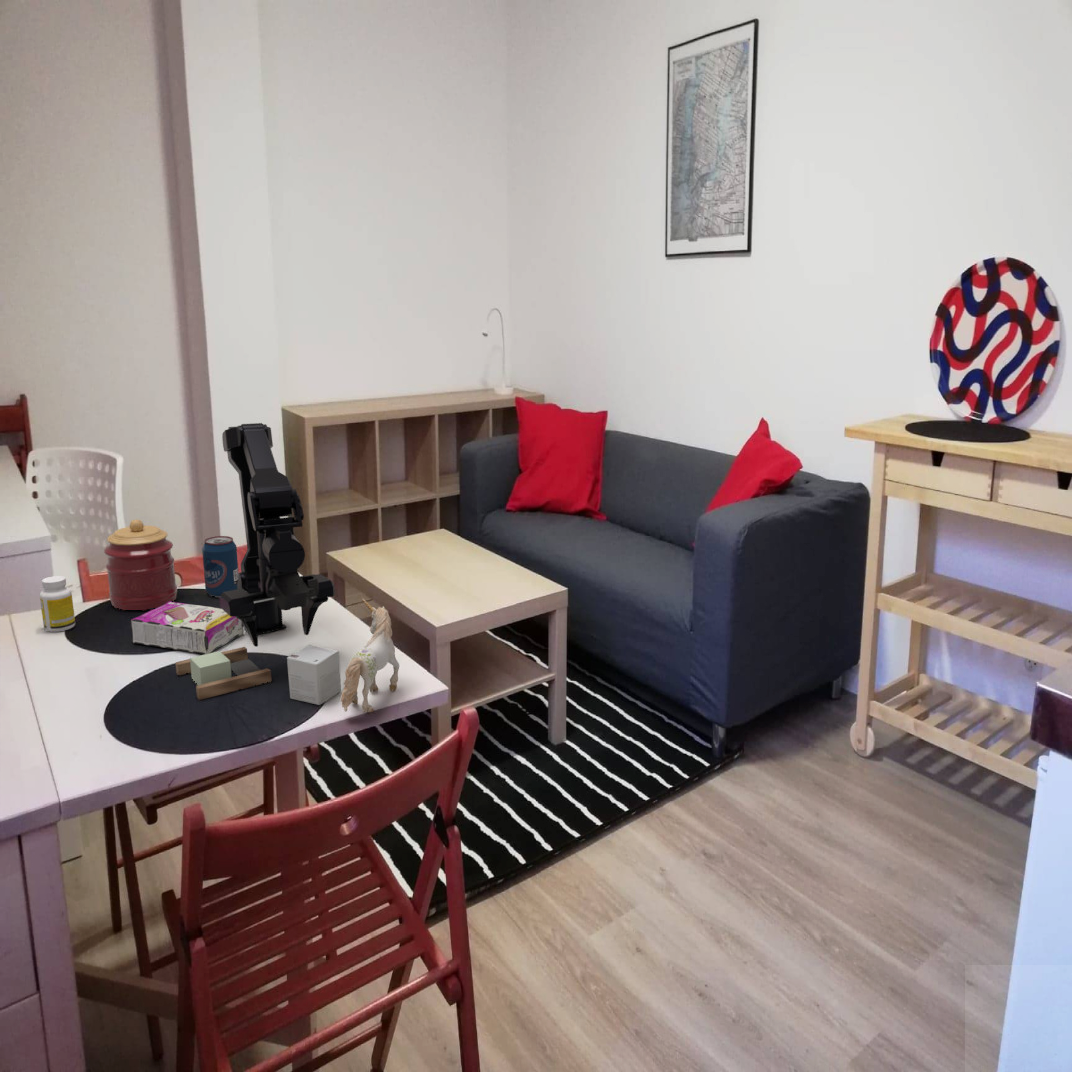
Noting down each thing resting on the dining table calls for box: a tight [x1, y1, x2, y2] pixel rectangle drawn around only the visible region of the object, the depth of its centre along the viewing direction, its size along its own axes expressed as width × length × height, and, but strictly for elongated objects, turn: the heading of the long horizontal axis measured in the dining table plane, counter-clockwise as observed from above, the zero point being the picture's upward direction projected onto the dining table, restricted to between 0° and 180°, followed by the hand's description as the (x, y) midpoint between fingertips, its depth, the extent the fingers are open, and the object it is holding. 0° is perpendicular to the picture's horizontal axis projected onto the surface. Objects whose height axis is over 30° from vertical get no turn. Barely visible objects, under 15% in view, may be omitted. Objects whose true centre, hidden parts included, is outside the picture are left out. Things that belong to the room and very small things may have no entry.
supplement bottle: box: [39, 575, 76, 633], centre depth 170 cm, size 5×5×10 cm
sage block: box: [189, 650, 232, 686], centre depth 150 cm, size 5×5×4 cm
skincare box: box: [286, 644, 342, 706], centre depth 145 cm, size 6×6×7 cm
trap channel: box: [175, 646, 272, 701], centre depth 151 cm, size 12×12×2 cm
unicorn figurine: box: [340, 598, 400, 714], centre depth 144 cm, size 7×20×13 cm, turn 0°
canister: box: [103, 519, 178, 611], centre depth 183 cm, size 13×13×18 cm
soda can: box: [201, 535, 240, 598], centre depth 190 cm, size 7×7×12 cm
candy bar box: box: [130, 601, 244, 655], centre depth 166 cm, size 11×5×16 cm
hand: (281, 640), depth 156 cm, fingers open, 9 cm apart
